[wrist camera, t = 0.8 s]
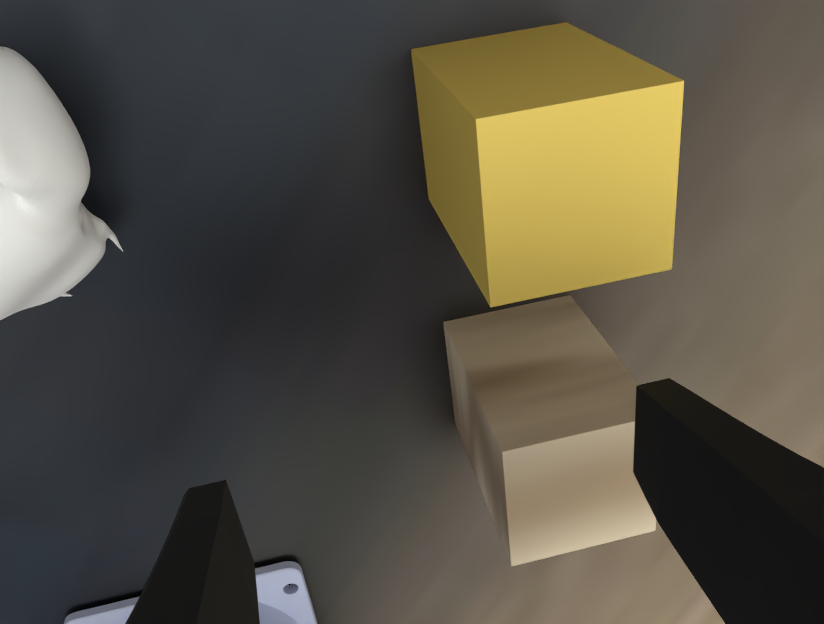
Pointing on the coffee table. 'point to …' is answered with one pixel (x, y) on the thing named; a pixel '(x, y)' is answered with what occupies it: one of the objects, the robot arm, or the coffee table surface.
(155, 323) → the coffee table surface
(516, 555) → the birch bar
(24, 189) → the elephant figurine
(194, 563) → the robot arm
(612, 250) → the mustard bar
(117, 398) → the coffee table surface
